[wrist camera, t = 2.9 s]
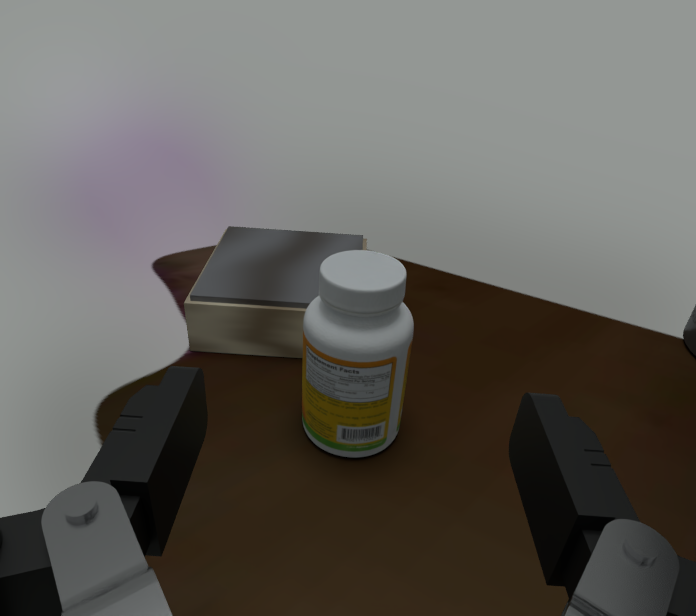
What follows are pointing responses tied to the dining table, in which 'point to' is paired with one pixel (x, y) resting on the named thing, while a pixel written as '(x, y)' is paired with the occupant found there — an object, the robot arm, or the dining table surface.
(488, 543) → the dining table surface
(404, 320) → the supplement bottle
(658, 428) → the dining table surface
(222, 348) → the plinth
